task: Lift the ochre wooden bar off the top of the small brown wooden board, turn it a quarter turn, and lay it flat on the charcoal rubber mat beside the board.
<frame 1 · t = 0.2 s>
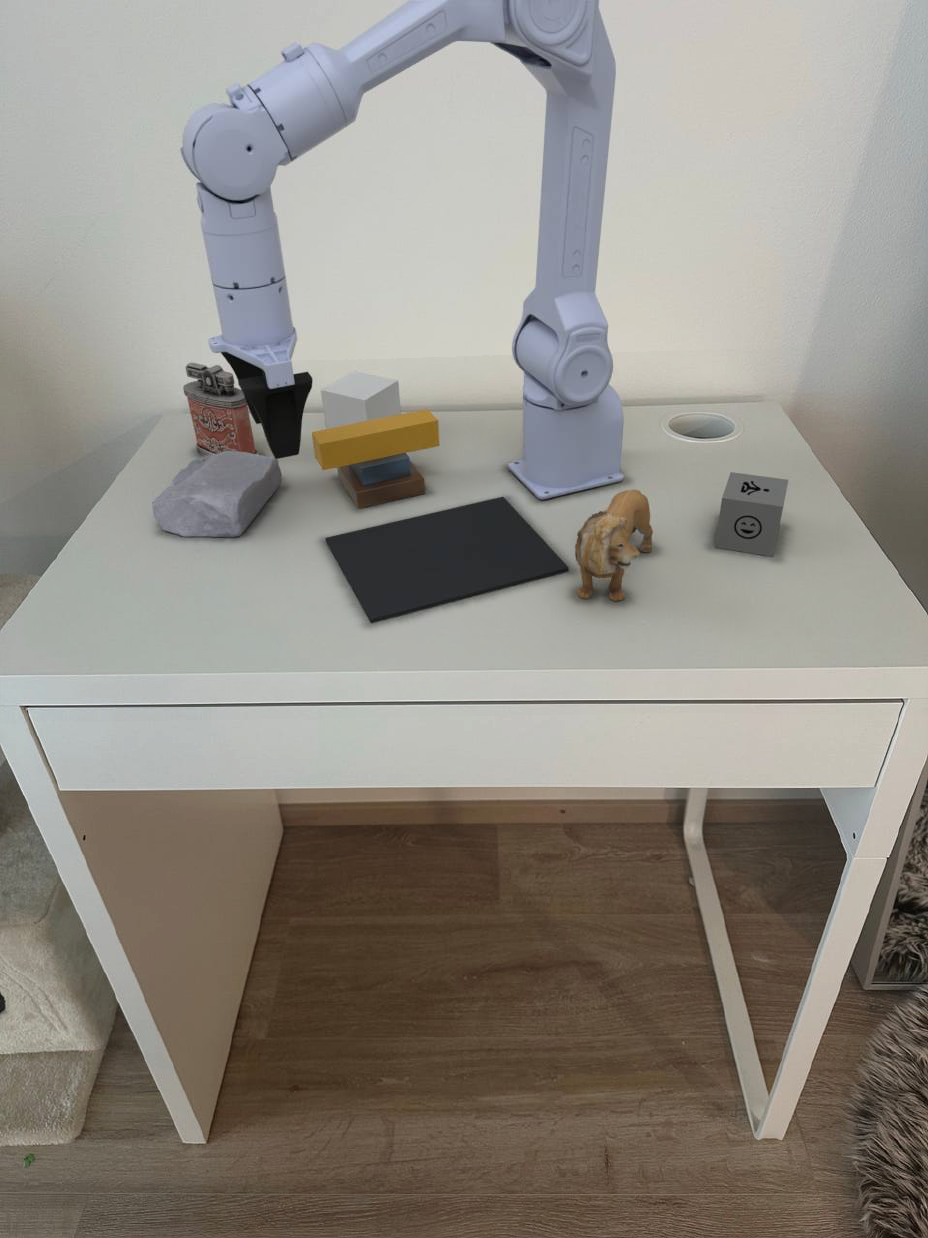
hand: (276, 437, 82), 10 cm above the table, tool pointing down, fingers open, 7 cm apart
white cube: (365, 437, 105), on the table
lion figurine: (616, 582, 80), on the table
bar: (377, 451, 93), point 4 cm above the table, touching brown wooden board
dice cube: (747, 539, 85), on the table
lighter: (228, 457, 102), on the table
mat: (443, 555, 84), on the table
stone block: (218, 508, 93), on the table
brown wooden board: (381, 486, 95), on the table, touching bar
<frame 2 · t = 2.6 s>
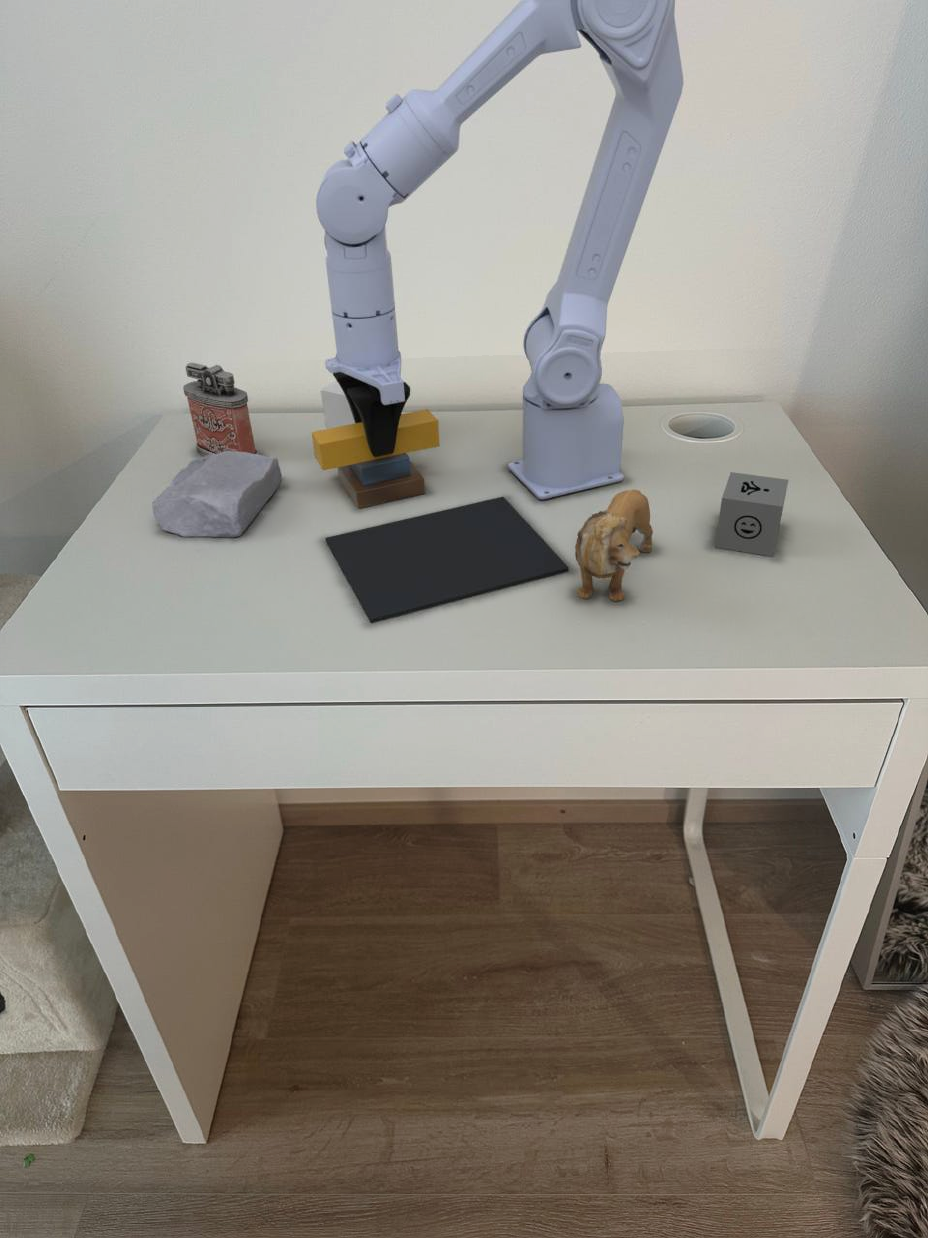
hand: (377, 446, 92), 4 cm above the table, tool pointing down, fingers closed on bar, 3 cm apart
bar: (377, 452, 93), point 4 cm above the table, touching gripper, brown wooden board
everything else where it was.
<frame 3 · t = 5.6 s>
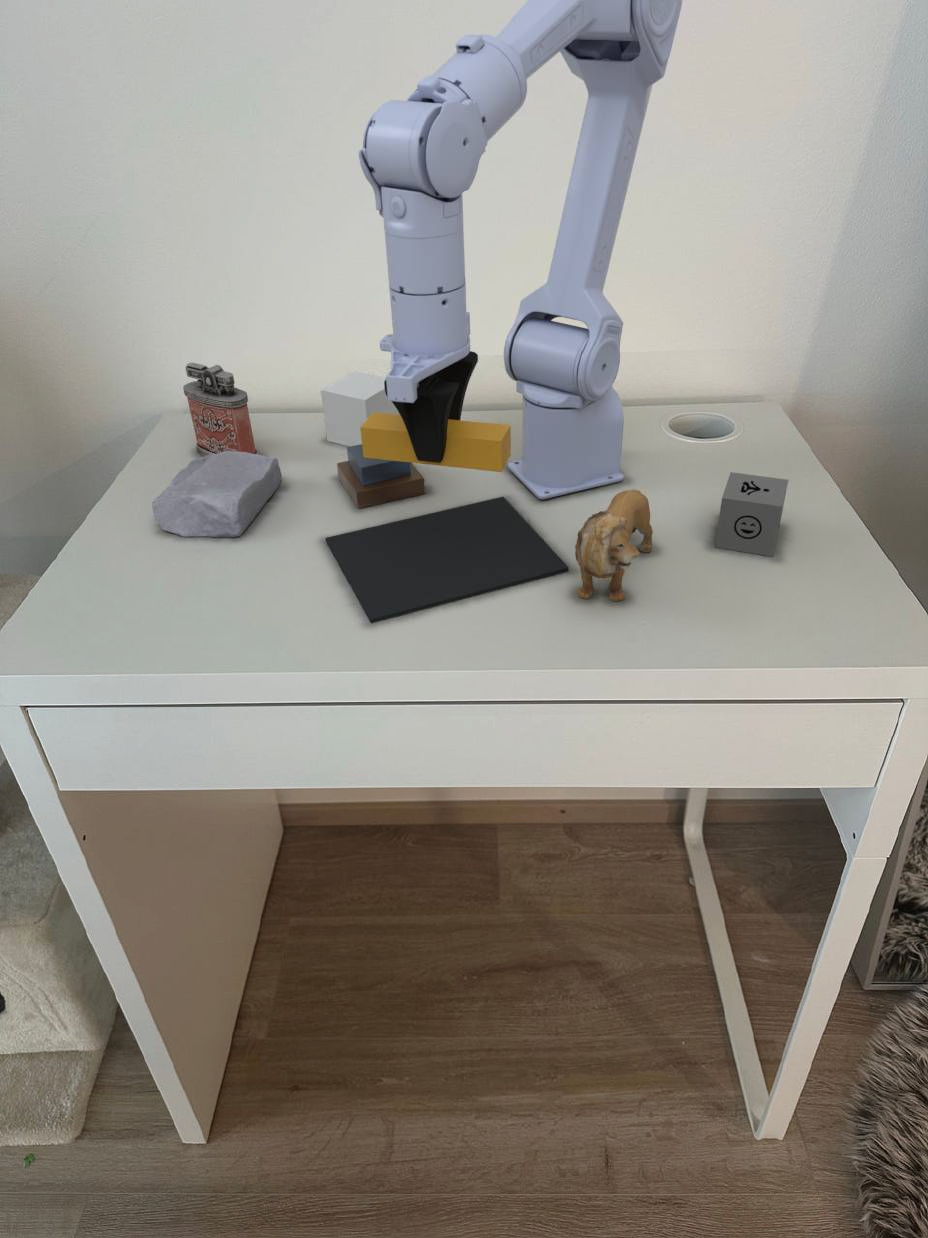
hand: (437, 450, 78), 10 cm above the table, tool pointing down, fingers closed on bar, 3 cm apart
bar: (436, 456, 78), point 10 cm above the table, touching gripper
brown wooden board: (381, 485, 95), on the table
everything else where it was.
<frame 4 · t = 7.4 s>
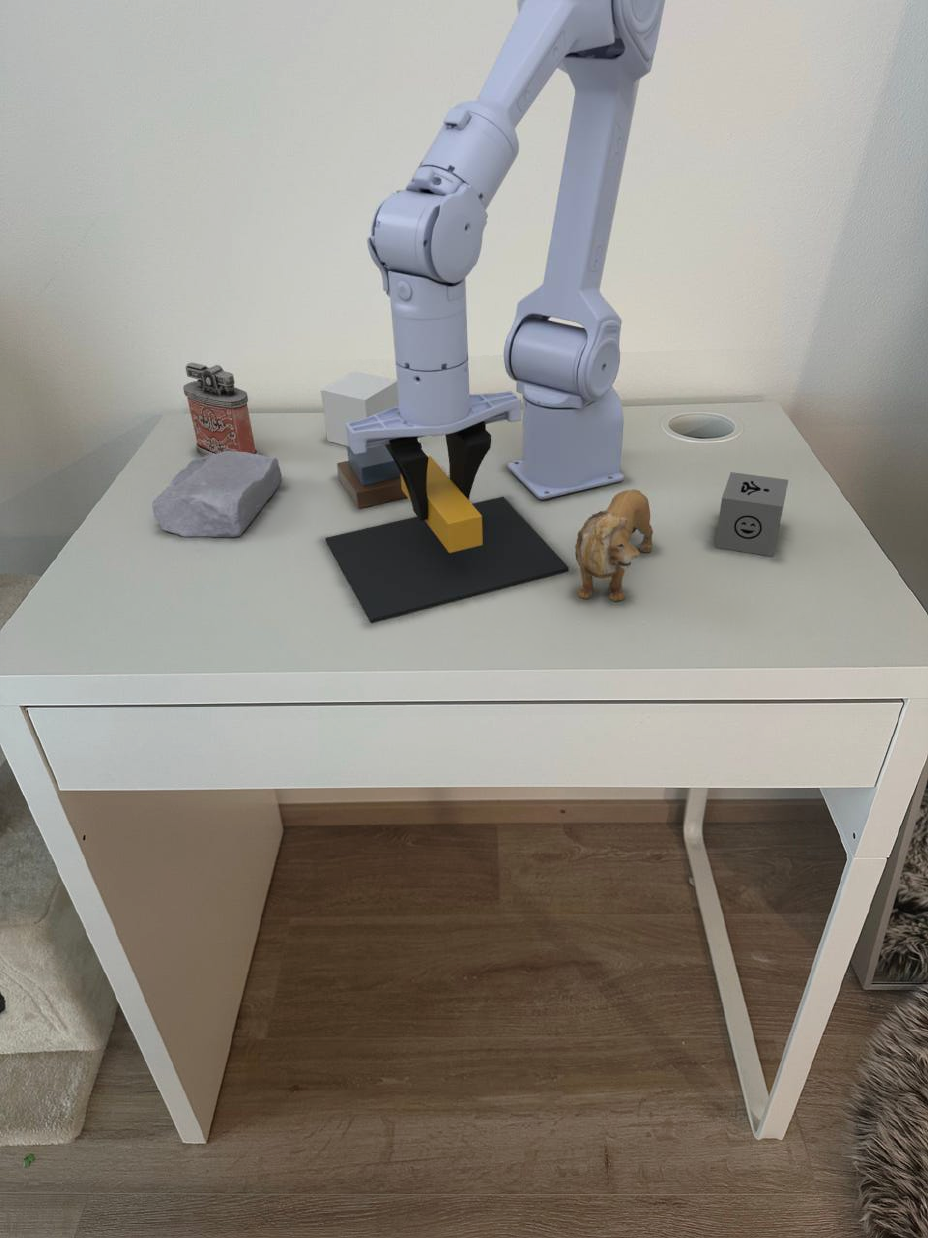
hand: (440, 510, 81), 5 cm above the table, tool pointing down, fingers closed on bar, 3 cm apart
bar: (440, 516, 81), point 4 cm above the table, touching gripper
everything else where it was.
when the fingers open (1 cm above the table, at t = 8.7 s): bar stays where it is, resting on mat.
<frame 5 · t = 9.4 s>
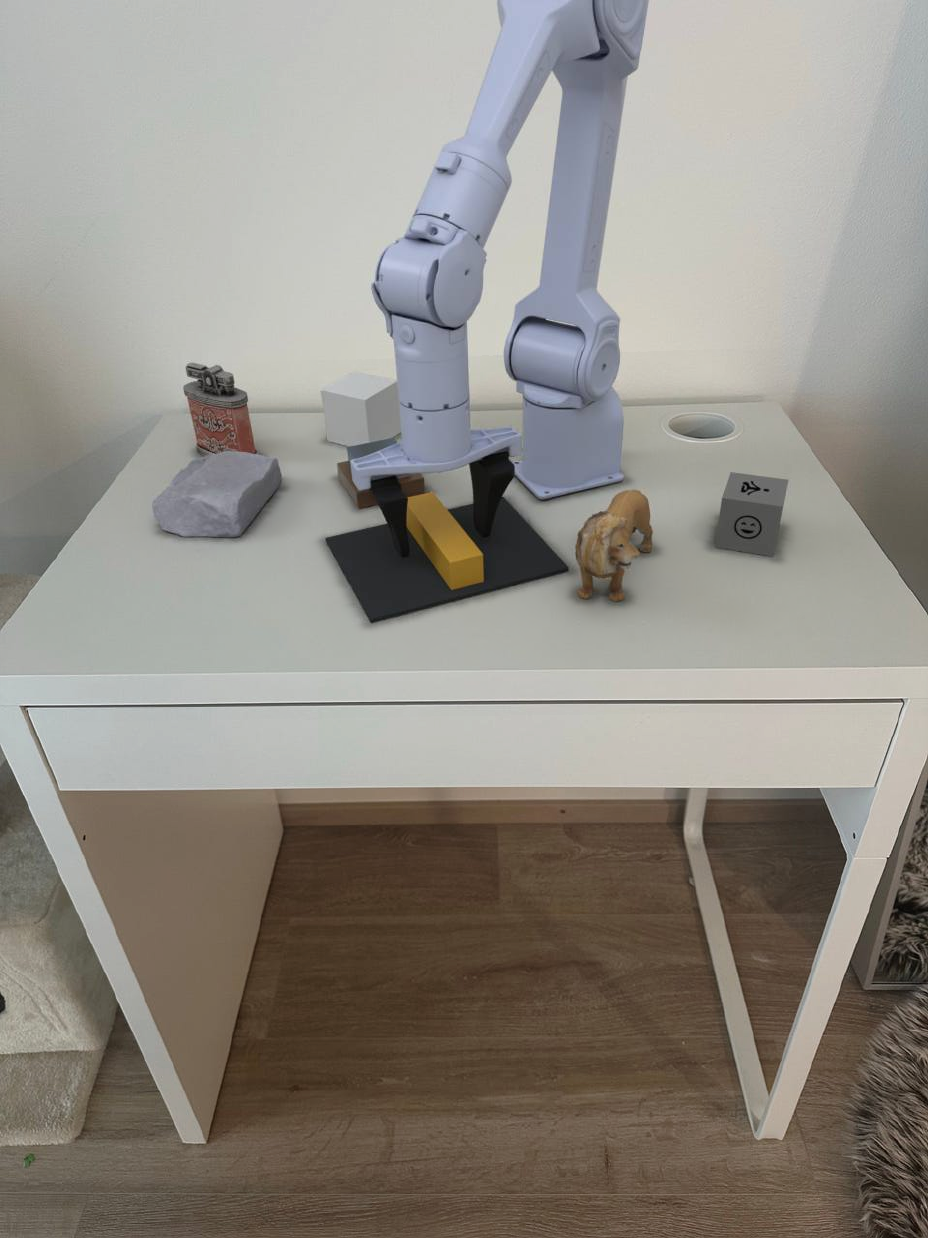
hand: (442, 541, 83), 1 cm above the table, tool pointing down, fingers open, 7 cm apart
bar: (442, 551, 84), resting on mat
everything else where it was.
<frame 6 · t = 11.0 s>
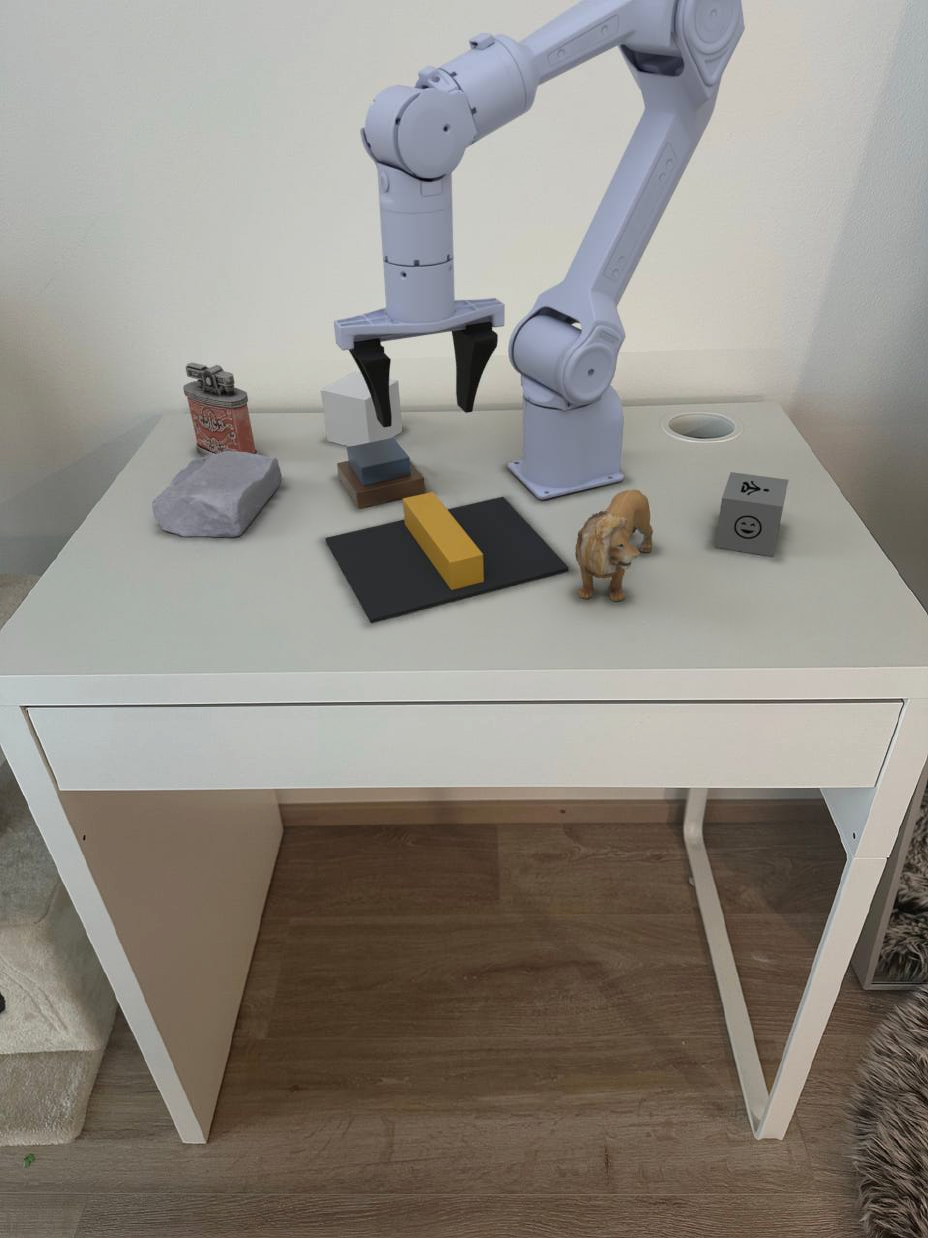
hand: (425, 415, 83), 10 cm above the table, tool pointing down, fingers open, 7 cm apart
nothing on the table moved.
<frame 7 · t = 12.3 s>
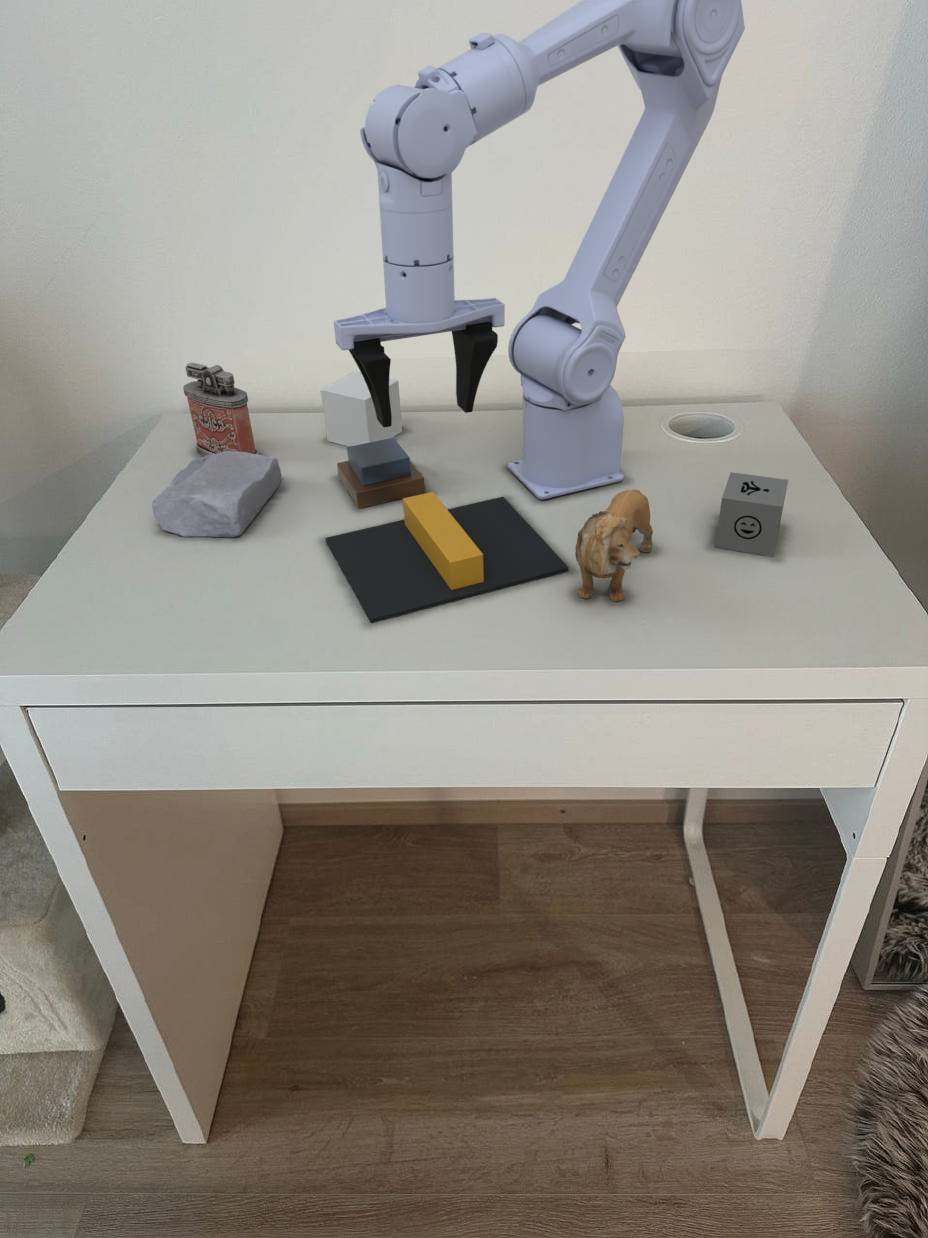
hand: (425, 415, 83), 10 cm above the table, tool pointing down, fingers open, 7 cm apart
nothing on the table moved.
at the end: bar inside the target area on the mat (0.0 cm from its centre), point 0.4 cm above the mat's base; bar tilted 0°; brown wooden board moved 0.0 cm from its start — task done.
